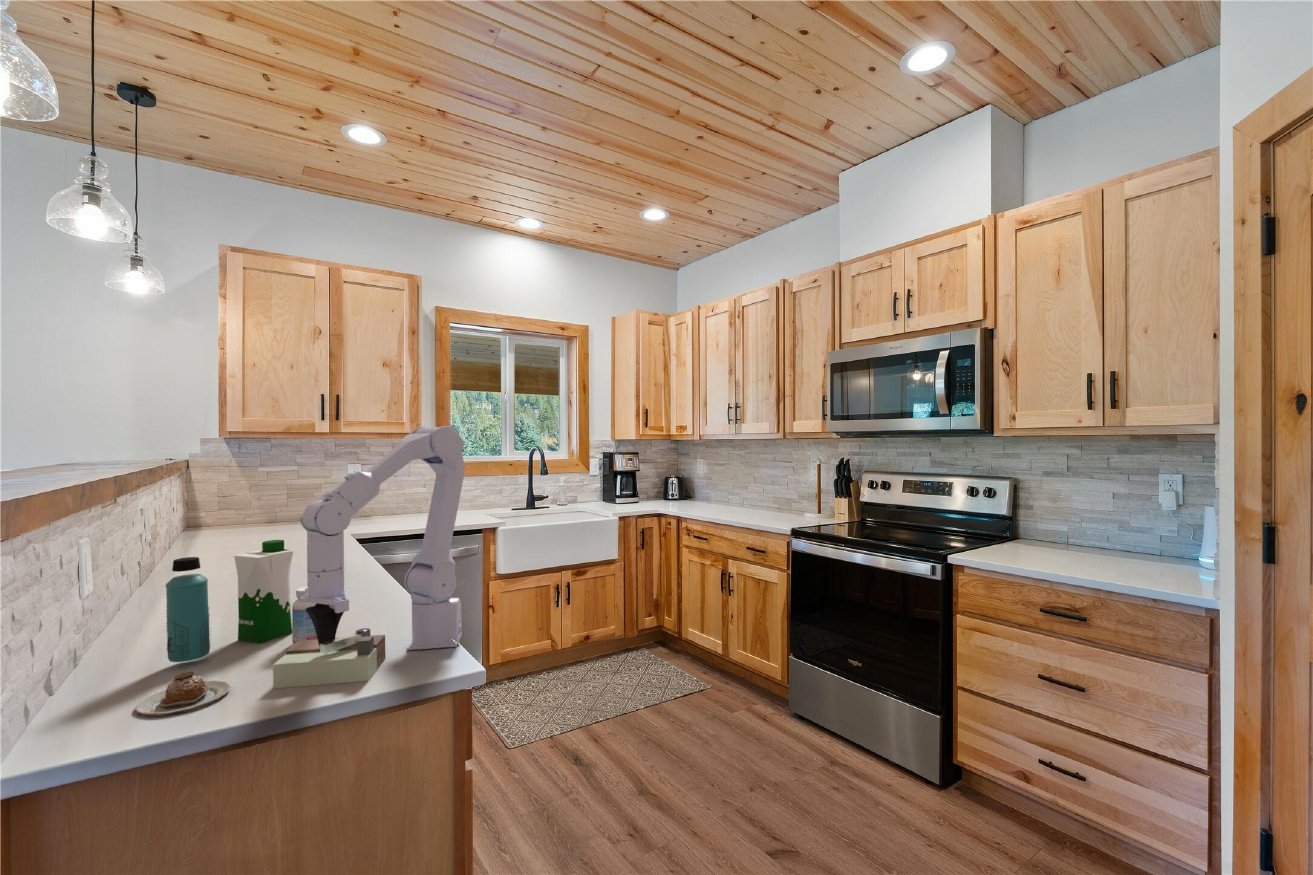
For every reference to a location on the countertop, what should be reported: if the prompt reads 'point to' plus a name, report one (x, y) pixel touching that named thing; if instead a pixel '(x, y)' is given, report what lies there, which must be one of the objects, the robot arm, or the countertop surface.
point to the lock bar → (343, 641)
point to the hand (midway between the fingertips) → (326, 645)
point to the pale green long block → (327, 666)
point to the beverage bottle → (187, 613)
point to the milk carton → (264, 593)
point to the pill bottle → (302, 619)
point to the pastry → (183, 694)
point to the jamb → (313, 646)
